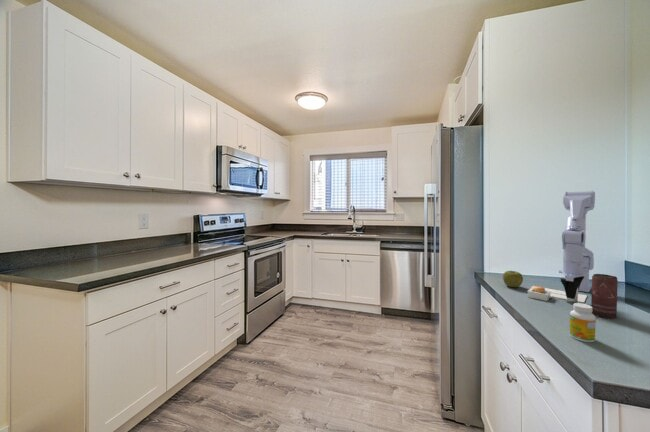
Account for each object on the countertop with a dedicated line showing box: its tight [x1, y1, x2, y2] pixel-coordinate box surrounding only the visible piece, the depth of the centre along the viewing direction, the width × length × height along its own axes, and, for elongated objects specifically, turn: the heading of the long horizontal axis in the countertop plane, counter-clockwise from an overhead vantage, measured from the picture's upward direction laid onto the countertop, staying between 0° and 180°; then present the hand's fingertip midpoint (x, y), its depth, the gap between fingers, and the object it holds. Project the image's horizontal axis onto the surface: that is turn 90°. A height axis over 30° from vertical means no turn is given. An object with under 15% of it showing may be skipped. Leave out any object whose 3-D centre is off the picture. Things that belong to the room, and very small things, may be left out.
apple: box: [502, 270, 524, 288], centre depth 124 cm, size 8×8×7 cm
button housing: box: [527, 287, 552, 302], centre depth 110 cm, size 6×6×2 cm
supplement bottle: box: [569, 302, 597, 343], centre depth 77 cm, size 5×5×10 cm
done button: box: [533, 285, 546, 294], centre depth 110 cm, size 4×4×2 cm
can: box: [590, 273, 619, 320], centre depth 91 cm, size 6×6×14 cm
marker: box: [566, 288, 579, 305], centre depth 103 cm, size 3×3×8 cm
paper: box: [526, 285, 588, 304], centre depth 113 cm, size 11×18×1 cm, turn 40°
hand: (572, 295), depth 103 cm, fingers open, 7 cm apart
